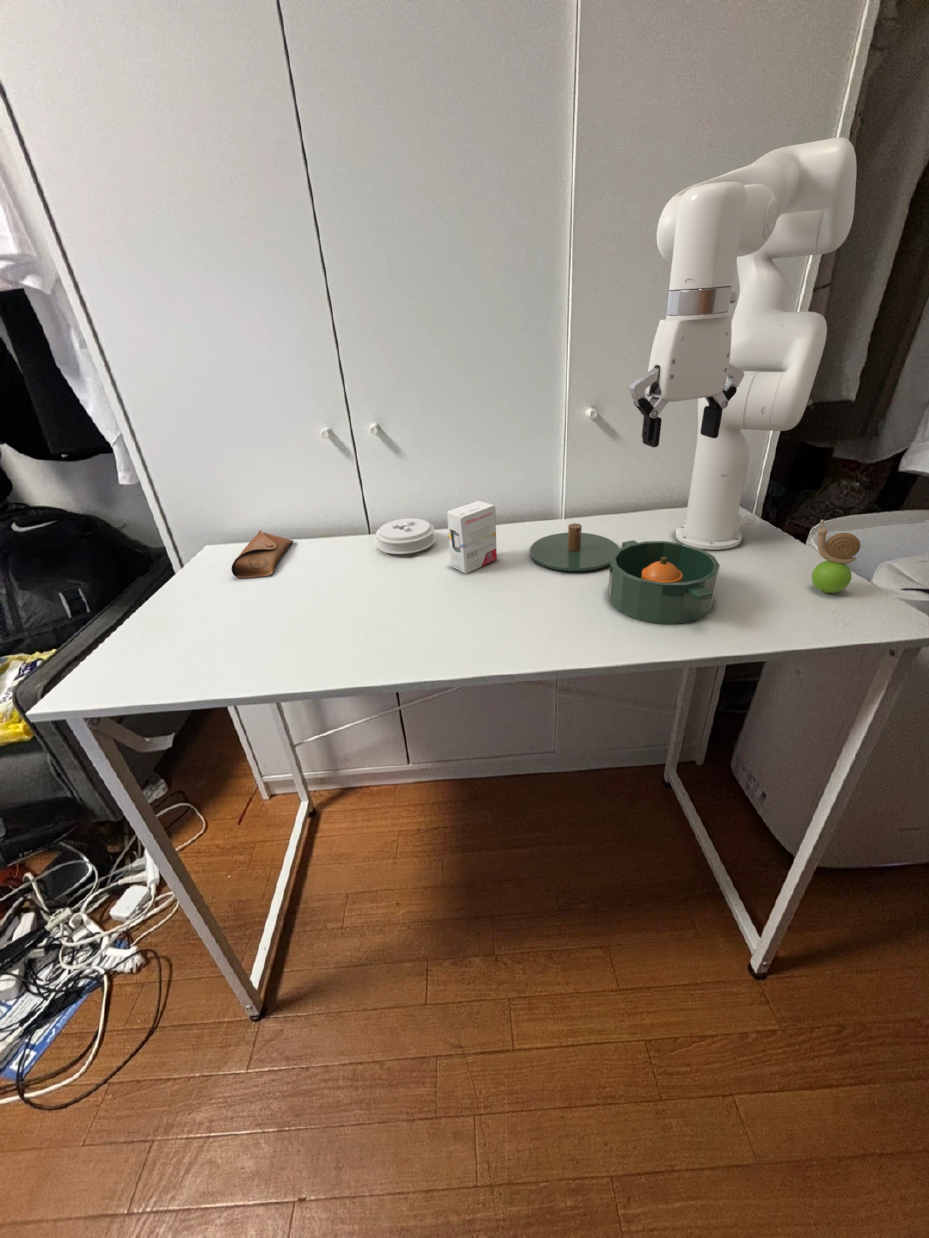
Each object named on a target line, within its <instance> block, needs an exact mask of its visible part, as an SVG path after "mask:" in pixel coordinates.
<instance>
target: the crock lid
mask: <svg viewBox="0 0 929 1238" xmlns="http://www.w3.org/2000/svg"><path fill="white" fill-rule="evenodd" d="M582 528H583V525H582V524H581V523H574V522H573V523H569V524H568V526H567V532H559V533H554V534H550V535H546V536H544V537H541V538H539V539H536V540H535V541H534V542H533V543H532V544H531V546H530V547H529V555H530V557H531V559H532V560H533V561H534V562H535V563H537V564H539V565H541V566H542V567H546V568H549V569H553V570H557V571H565V572H587V571H594V570H598V569H602V568H605V567H607V566H610V560H611V557H612V555H613V554H614V553H615V551H616V550H618V549H620V547H619V546H618V544H617V543H615V541H613V540H611V539H610V538H607V537H605V536H602V535H600V534H595V533H589V532H582V531H583V529H582Z"/></svg>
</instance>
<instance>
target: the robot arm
mask: <svg viewBox="0 0 929 1238" xmlns="http://www.w3.org/2000/svg"><path fill="white" fill-rule="evenodd" d="M856 155H857V154H856V151H855V147H854V145H853V144H852V142H851V141H850V140H849V139H847V138H846V137H839V136H837V137H831V138H827V139H820V140H816V141H815V140H814V141H810V142H805V143H800V144H793V145H787V146H782V147H779V148H776V149H773V150H770V151H768V152H766V153H765V154H764V155H762V156H761V157H759V158H758V159H757V160H755V161H754V162H751V164H749V165H745V166H742V167H739V168H736V169H733V170H731V171H729V172H726V173H724V174H721V175H719V176H715V177H712V178H709V179H707V180H705V181H701V182H698V183H695V184H692V185H690V186H688V187H686V188H684V189H683V190H680V191H679V192H677V193H675V195H673V196H672V197H671V198H670V199H669V200H668V202H667V203H666V204H665V206H664V208H663V209H662V211H661V213H660V216H659V219H658V223H657V228H656V244H657V249H658V251H659V254H660V255H661V257H662V258H663V259H664V260H665V261H667V262H671V267H670V277H669V279H670V280H669V285H668V286H669V287H668V290H669V291H668V297H667V303H666V304H667V305H666V315H665V319H664V318H663V319H660V320H659V322H658V326H657V328H656V332H655V336H654V338H653V343H652V348H651V353H650V356H649V357H650V358H649V362H648V370H647V372H646V373H645V374H643V375H642V376H640V377H639V378H638V379H636V380H635V381H634V382H632V383H631V384H630V385H629V388H628V389H629V392H630V395H631V397H632V398H631V399H632V400H633V404H634V406H635V407H636V408H637V410H638V411H639V413H640V415H641V416H643V418H642V419H643V420H642V430H641V431H642V432H641V438H642V444H643V445H646V446H649V447H651V448H657V447H659V446H660V438H661V429H662V422H663V421H662V417H659V415H660V414H661V413H662V411H663V410H664V409H665V408H666V406H667V405H668V403H672V402H673V403H674V402H682V401H683V402H684V401H690V400H697V437H696V446H695V453H694V459H693V460H694V461H693V467H692V474H691V480H690V486H689V492H688V500H687V506H686V507H687V508H686V513H685V521H684V523H683V524H681V525H679V526H678V527H676V529H675V533H674V534H675V535H674V536H675V539H677V541H679V543H682V544H686V545H690V546H693V547H696V548H700V549H702V550H709V551H710V550H711V551H713V550H714V551H718V550H719V551H720V550H721V551H722V550H729V549H732V548H735V547H737V546H739V545H740V544H741V542H742V539H743V534H742V532H741V531H740V529H742V528H743V527H744V526H745V527H747V526H752V525H755V524H756V522H757V517H756V515H754V514H752V515H745V516H742V514H741V513H740V506H741V501H742V496H743V491H744V487H745V481H746V477H747V473H748V466H749V463H750V456H751V451H750V446H749V444H748V441H747V439H746V437H745V436H744V434H743V432H742V430H752V431H753V430H755V431H767V432H769V431H772V432H785V431H790V430H793V429H794V428H795V427H796V426H798V424H799V423H800V422H801V420H802V418H803V416H804V413H805V411H806V407H807V404H808V401H809V399H810V395H811V392H812V389H813V385H814V383H815V379H816V375H817V372H818V369H819V366H820V364H821V359H822V356H823V353H824V349H825V345H826V341H827V334H828V326H827V320H826V318H825V317H824V316H823V315H822V314H821V313H818V312H816V311H788V308H789V306H790V305H789V304H790V302H791V299H792V296H793V289H792V285H791V283H790V282H789V280H788V277H787V276H786V274H785V273H784V272H783V271H782V269H781V268H780V267H778V266H777V264H775V263H774V261H773V259H782V258H784V259H785V258H792V257H793V258H794V257H806V256H818V255H819V256H820V255H825V254H830V253H832V252H835V251H836V250H838V249H839V248H841V246H842V245H843V243H844V242H845V241H846V240H847V237H848V236H849V233H850V231H851V228H852V224H853V220H854V215H855V203H856V202H855V201H856V187H857V186H856V185H857V184H856V183H857V156H856ZM736 269H737V277H738V284H739V295H738V300H737V293H736V292H735V291H733V286H734V280H735V274H736V273H735V272H736ZM736 300H737V303H736V306H735V310H734V313H733V315H732V314H729V311H730V305H731V304H734V303H735V302H736ZM646 396H647V397H648V398H647V397H646Z"/></svg>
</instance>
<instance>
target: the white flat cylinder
mask: <svg viewBox="0 0 929 1238" xmlns="http://www.w3.org/2000/svg"><path fill="white" fill-rule="evenodd" d="M434 532H435V527H434V525H433V524H432V523H430V522H428V521H427V520H424V519H421V518H412V517H411V518H410V517H409V518H400V519H394V520H392V521H391V520H390V521H388V522H386V523H384V524H382V525H381V526H380V527H379V528H378V529H377V530H376V532H375V538H376V539H377V543H376V546H377V548H378V549H379V550H380V551H381V552H383V553H387V554H392V555H406V554H413V553H417V552H422V551H425V550H426V549H428V548H430V547H431V546H433V545H434V543H435V542H436V537H435V535H434Z"/></svg>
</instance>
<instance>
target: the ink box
mask: <svg viewBox="0 0 929 1238" xmlns="http://www.w3.org/2000/svg"><path fill="white" fill-rule="evenodd" d="M496 518H497V517H496V506H495V505H494V504H492V503H488V502H485V501H482V500H476V501H474V502H471V503H468V504H465V505H462V506H459V507H455V508H452V509H450V510H447V511H446V519H447V529H448V531H447V532H448V540H449V541H448V542H449V543H448V544H449V555H450V567H451V568H453V569H455V570H457V571H459V572H461V573H463V574H465V575H467V574H469V573H471V572H474V571H475V570H477V569H480V568H482V567H485V566H487V565H488V564H490V563H492V562H495V561H497V560H498V559H497V557H498V553H497V552H498V551H497V523H496V521H497V520H496Z"/></svg>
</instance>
